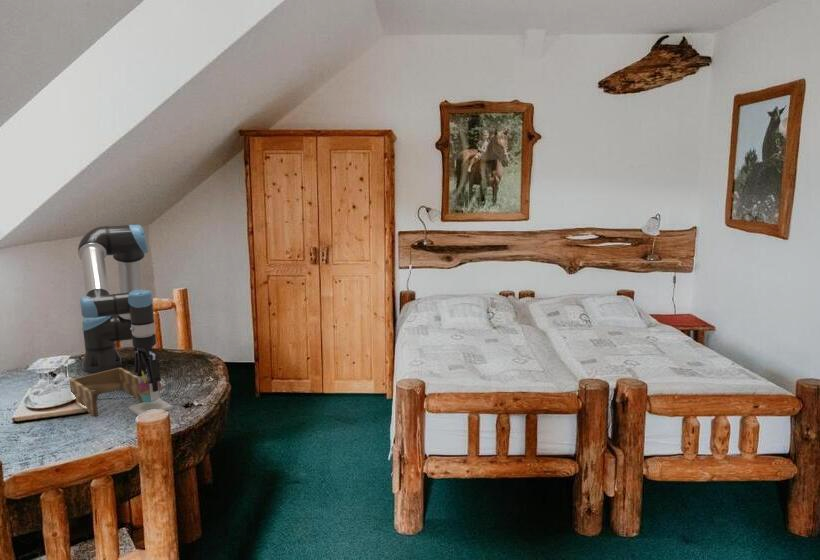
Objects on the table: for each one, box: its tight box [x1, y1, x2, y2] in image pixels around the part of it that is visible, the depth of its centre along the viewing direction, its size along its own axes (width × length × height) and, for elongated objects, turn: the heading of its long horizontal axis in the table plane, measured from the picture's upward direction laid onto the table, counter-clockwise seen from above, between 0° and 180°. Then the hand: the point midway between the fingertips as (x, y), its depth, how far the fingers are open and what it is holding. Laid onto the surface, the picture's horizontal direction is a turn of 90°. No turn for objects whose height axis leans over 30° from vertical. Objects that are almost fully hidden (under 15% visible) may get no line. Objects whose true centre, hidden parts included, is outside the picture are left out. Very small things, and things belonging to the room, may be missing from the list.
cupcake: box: [136, 369, 163, 403], centre depth 214 cm, size 9×8×12 cm
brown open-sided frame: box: [69, 366, 143, 418], centre depth 223 cm, size 22×18×9 cm
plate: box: [128, 397, 174, 416], centre depth 216 cm, size 11×11×1 cm
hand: (149, 396), depth 215 cm, fingers closed on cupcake, 8 cm apart
